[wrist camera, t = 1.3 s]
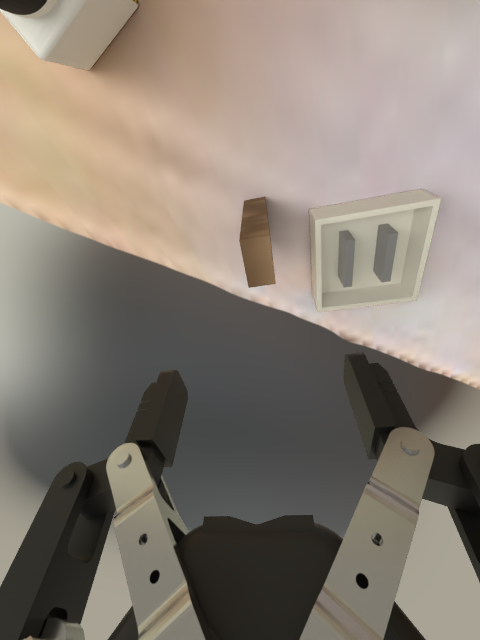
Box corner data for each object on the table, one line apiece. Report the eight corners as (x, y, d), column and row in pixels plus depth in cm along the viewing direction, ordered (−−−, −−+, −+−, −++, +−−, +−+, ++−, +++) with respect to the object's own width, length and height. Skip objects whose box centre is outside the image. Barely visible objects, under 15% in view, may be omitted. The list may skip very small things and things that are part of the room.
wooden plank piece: (265, 196, 31) (269, 235, 21) (269, 234, 33) (275, 283, 24) (244, 200, 31) (239, 240, 22) (250, 237, 34) (248, 287, 24)
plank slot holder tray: (421, 188, 30) (441, 198, 26) (402, 283, 37) (416, 300, 34) (308, 209, 31) (314, 220, 28) (312, 295, 38) (317, 312, 35)
